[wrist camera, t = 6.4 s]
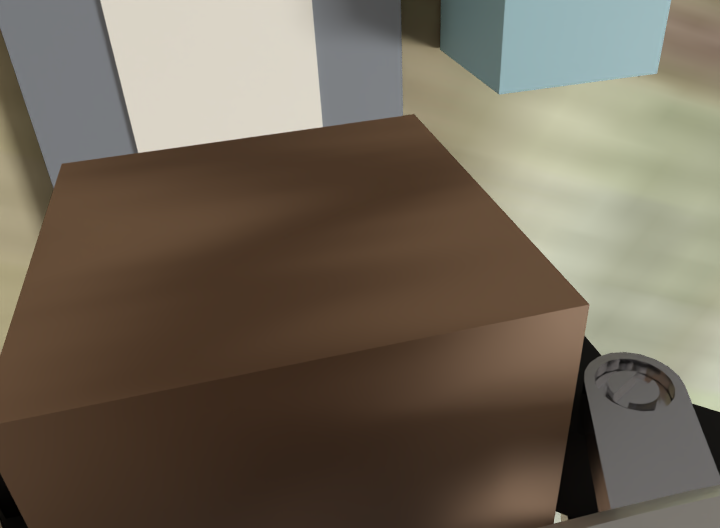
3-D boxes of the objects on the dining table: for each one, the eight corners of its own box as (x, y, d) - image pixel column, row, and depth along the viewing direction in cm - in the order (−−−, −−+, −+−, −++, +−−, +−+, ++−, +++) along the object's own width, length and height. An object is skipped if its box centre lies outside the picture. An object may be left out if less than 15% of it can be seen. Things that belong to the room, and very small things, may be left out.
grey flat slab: (389, -179, 23) (399, -180, 22) (398, 208, 31) (406, 220, 30) (-51, -153, 21) (-62, -153, 20) (84, 259, 29) (81, 274, 28)
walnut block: (413, 114, 12) (589, 304, 7) (416, 368, 15) (536, 620, 10) (61, 163, 11) (-24, 427, 6) (144, 425, 14) (134, 736, 9)
